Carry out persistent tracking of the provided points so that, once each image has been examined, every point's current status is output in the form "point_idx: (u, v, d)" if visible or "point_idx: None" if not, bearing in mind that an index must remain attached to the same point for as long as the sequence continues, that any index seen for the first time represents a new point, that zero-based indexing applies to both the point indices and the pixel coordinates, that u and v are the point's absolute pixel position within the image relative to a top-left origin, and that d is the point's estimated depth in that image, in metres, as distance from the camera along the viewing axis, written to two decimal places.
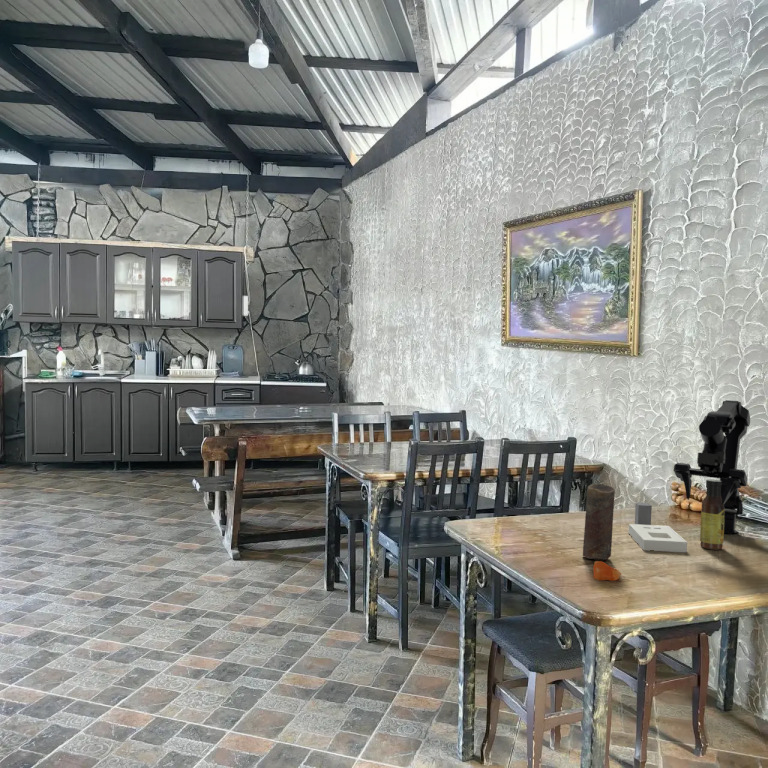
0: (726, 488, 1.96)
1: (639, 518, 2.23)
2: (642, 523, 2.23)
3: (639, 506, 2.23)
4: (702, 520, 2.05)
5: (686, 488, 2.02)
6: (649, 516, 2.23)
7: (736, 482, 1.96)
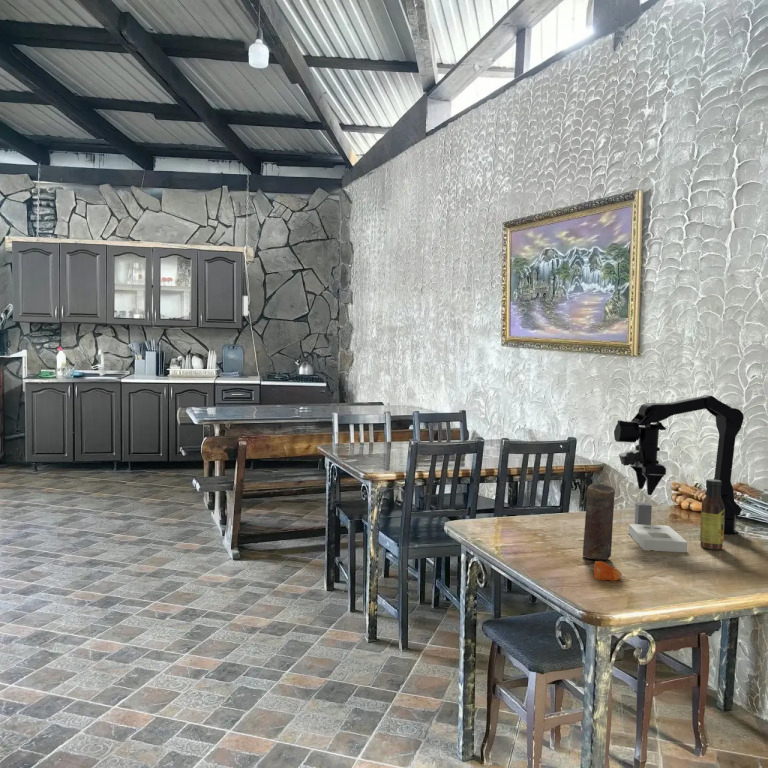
0: (646, 481, 2.18)
1: (639, 518, 2.23)
2: (642, 523, 2.23)
3: (639, 506, 2.23)
4: (702, 520, 2.05)
5: (637, 479, 2.29)
6: (649, 516, 2.23)
7: None
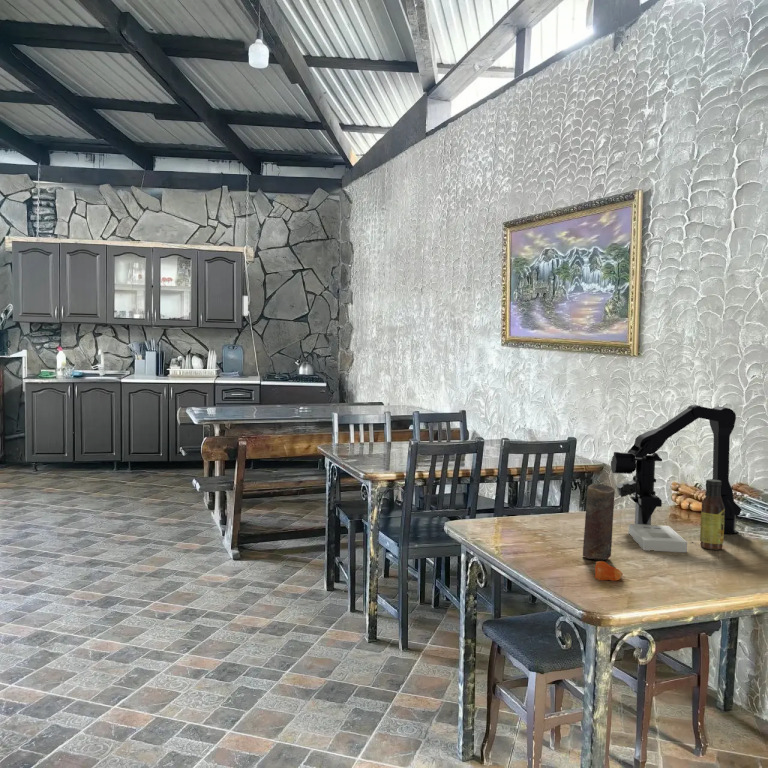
0: (641, 510, 2.22)
1: (639, 518, 2.23)
2: (642, 523, 2.23)
3: (639, 506, 2.23)
4: (702, 520, 2.05)
5: None
6: None
7: None
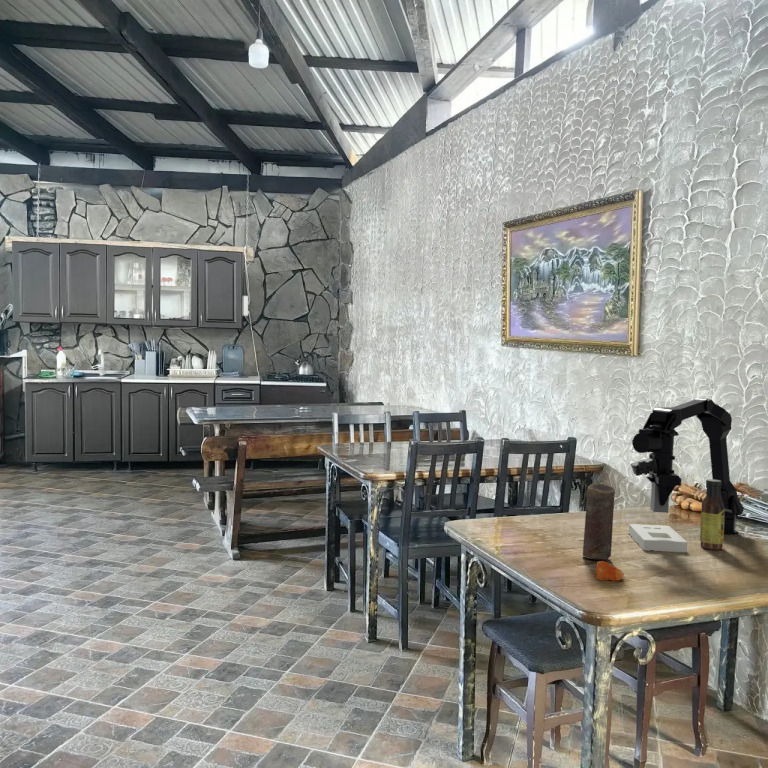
0: (658, 491, 2.04)
1: (656, 499, 2.04)
2: (659, 504, 2.04)
3: (656, 486, 2.04)
4: (702, 520, 2.05)
5: None
6: None
7: None
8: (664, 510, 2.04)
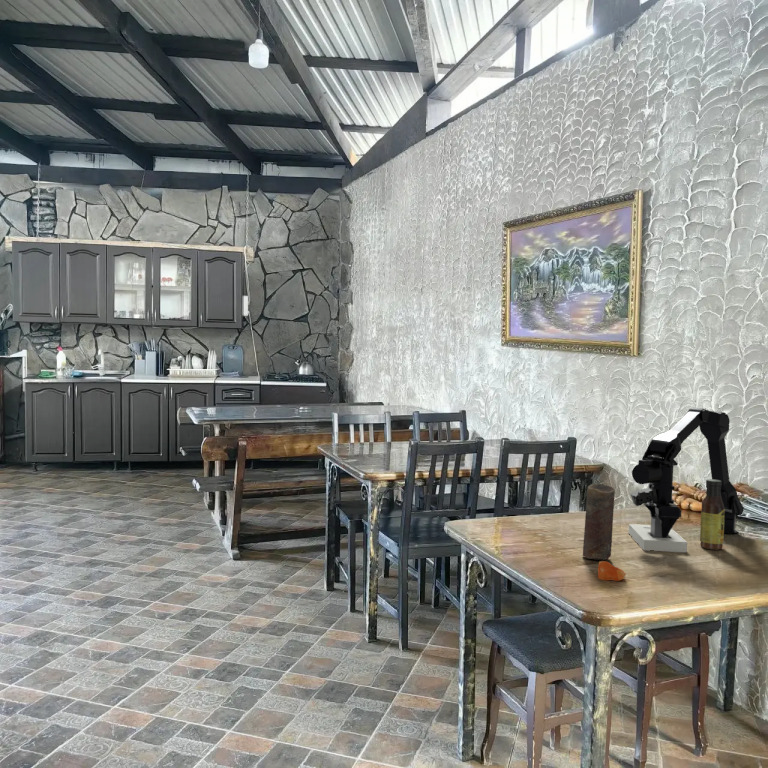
0: (660, 523, 2.01)
1: (655, 534, 2.05)
2: None
3: (655, 521, 2.04)
4: (702, 520, 2.05)
5: None
6: None
7: None
8: None
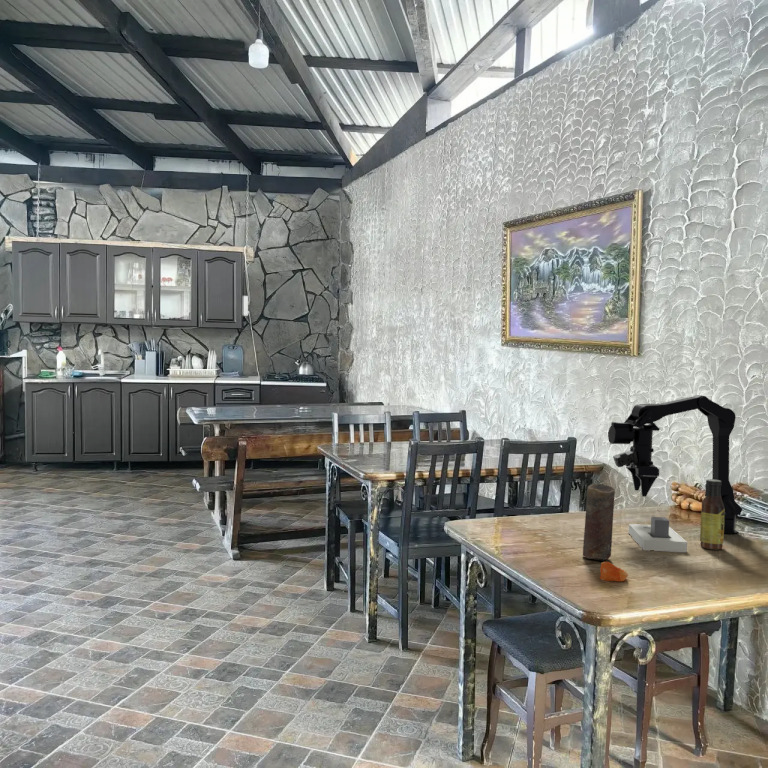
0: (640, 482, 2.17)
1: (655, 534, 2.05)
2: None
3: (655, 521, 2.04)
4: (702, 520, 2.05)
5: (633, 481, 2.27)
6: (666, 532, 2.04)
7: None
8: None
